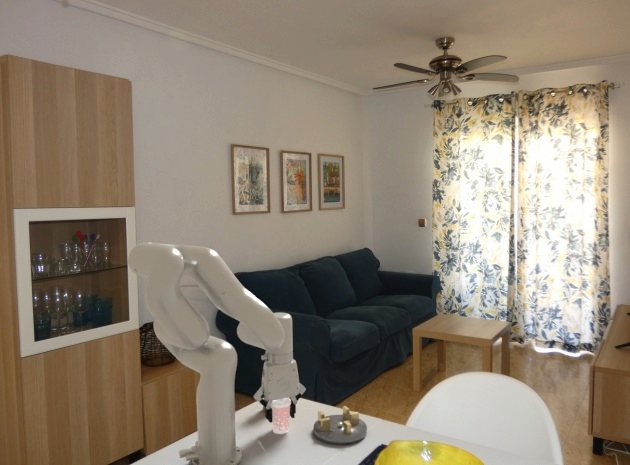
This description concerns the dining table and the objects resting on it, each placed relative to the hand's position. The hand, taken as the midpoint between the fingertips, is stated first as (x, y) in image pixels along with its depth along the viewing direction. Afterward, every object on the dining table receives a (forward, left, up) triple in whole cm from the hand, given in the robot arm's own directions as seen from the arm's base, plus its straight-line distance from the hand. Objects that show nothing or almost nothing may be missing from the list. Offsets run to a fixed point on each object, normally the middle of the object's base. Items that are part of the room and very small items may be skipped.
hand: (280, 417), depth 145 cm
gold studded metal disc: (+15, -8, -4) cm, 17 cm away
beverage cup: (0, 0, -4) cm, 4 cm away
